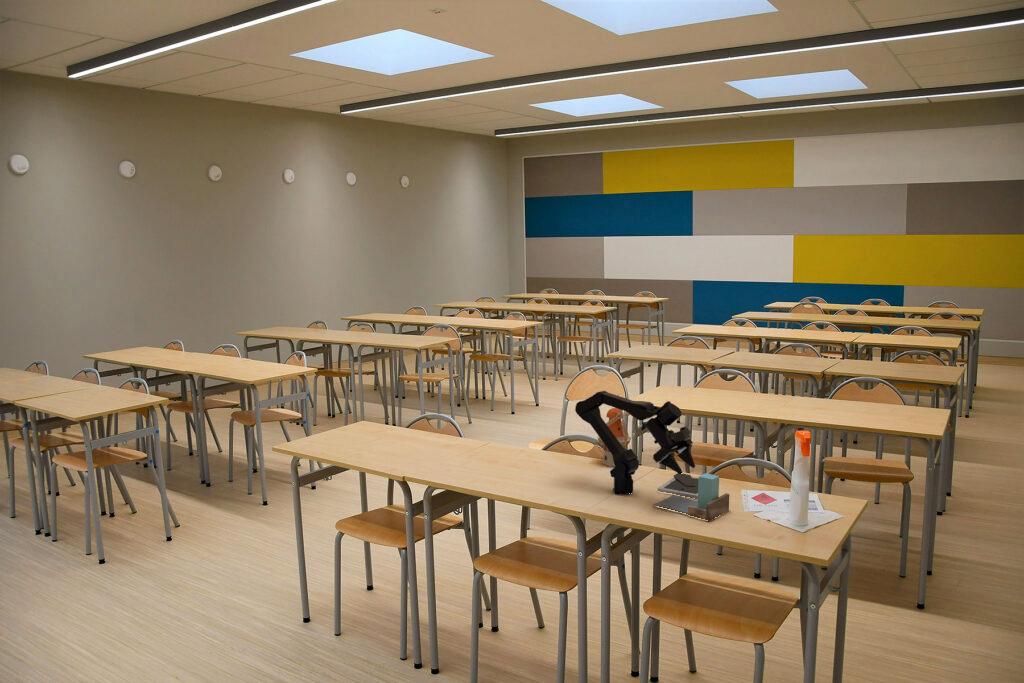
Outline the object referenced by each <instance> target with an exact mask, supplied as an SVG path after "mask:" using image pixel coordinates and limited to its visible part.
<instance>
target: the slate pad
mask: <svg viewBox="0 0 1024 683" xmlns="http://www.w3.org/2000/svg"><path fill="white" fill-rule="evenodd" d="M654 505H655V506H659V507H663V508H667V509H671V510H675V511H678V512H682V513H686V514H688V506H693V507H697V508H698V500H695V499H690V498H684V497H679V496H674V495H669V496H667V497H666V498H664V499H661V500H659V501H658V502H656V503H653V506H654Z"/></svg>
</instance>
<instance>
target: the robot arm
mask: <svg viewBox="0 0 1024 683" xmlns="http://www.w3.org/2000/svg"><path fill="white" fill-rule="evenodd" d="M617 395H618V394H617ZM617 395H616V394H614V393H611V392H608V391H606V390H601V391H597V392H595V393H594V394H593V395H591V396H590V397H588V398H586V399H584V400H580V401H577V402H576V404H575V408H574V410H575V413H576V415H577V416H578V417H579V418H581V420H583V421H584V422H585V423H587V424H589V425H590V426H591V427H592V428H593V430H594V432H595V433H596V434H597V436H598V437H600V439H601V440H602V441H603V443H604V444H605V446H606V447H607V448H608V450H609V451H610V452H611V454H612V456H613V462H614V465H615V467H612V469H610V470H609V473H610V476H611V478H613V487H612V491H613V494H614V493H615V494H614V495H628V494H629V493H630V494H631V493H632V494H633V492H634V479H633V477H632V475H635V473H636V471H637V470H638V469H639V466H640V460H639V459H638V458H639V456H637V455H636V453H635V452H634V450H633V449H632V448H629V449H626V447H625V448H623V447H622V445H621V444H620V442H619V441H618V440H617V438H616V437H615V436H614V434H613V433H612V431H611V430H610V429H609V427H608V426H607V424H606V423H607V422H605V420H604V419H603V418H602V415H601V410H600V407H601V406H603V405H607V406H609V407H611V408H618V409H621V410H623V412H625V413H627V412H628V413H629V414H630V415H629V414H628V415H629V416H631V417H632V418H635V419H636V420H638V421H643V422H641V428H640V429H641V431H642V432H643V431H644V430H645V431H646V430H648V431H649V433H650V434H651V436H652V437H653V438H654V440H653V442H654V444H655V445H656V444H658V445H659V447H660V449H658V450H657V451H656V452H655V453H654V454H653V456H652V459H653V460H654V462H655V464H657V463H659V464H660V465H663V466H664V467H667V468H668V469H670V470H672V471H673V472H675V473H676V474H677V473H679V474H681V473H683V471H682V468H681V467H680V465H679V463H678V462H677V460H676V459H675V453H676V454H677V456H678V458H680V459H681V460H682V461H683V462H684V463H686V464H687V465H688V466H689V467H690V468H691V469H694V468H695V467H696V465H695V464H696V463H695V461H694V459H693V455H692V447H693V444H694V443H693V440H692V439H691V436H690V434H691V430H690V429H689V428H688V427H687V426H686V425H685V426H682V427H680V429H679V431H674V430H673V429H670V430H669V428H668V427H669V426H672V424H673V423H675V422H677V420H678V419H679V418H680V417H682V415H683V414H682V410H681V408H680V407H679V406H677V405H676V404H674V403H671V401H670V400H669V401H666V402H664V403H663V405H662V406H660V407H658V406H655V404H653V402H651V401H644V400H631V399H629V398H626V397H623V396H620V395H619V396H617ZM648 419H649V420H648ZM645 420H647V421H645ZM667 426H668V427H667Z"/></svg>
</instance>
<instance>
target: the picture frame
mask: <svg viewBox="0 0 1024 683" xmlns="http://www.w3.org/2000/svg"><path fill="white" fill-rule="evenodd" d="M698 481H699V477H697V476H692V475H691V474H687V473H683V474H679V473H677V472H676V473H675V474H674V475H673V477H672V478H670V479H669V480H668V481H666V482H665V483H663V484H662V485H660V486H659V487H658V488H657V491H660V492H666V493H672V494H676V495H680V496H685V497H690V498H695V499H698ZM690 498H689V499H690ZM695 499H694V500H695Z"/></svg>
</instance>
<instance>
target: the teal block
mask: <svg viewBox="0 0 1024 683" xmlns="http://www.w3.org/2000/svg"><path fill="white" fill-rule="evenodd" d="M698 478H699V481H698V500H697V501H698V508H701V509H705V510H706V504H707V503H709V502H711V501H712V500H714V499H716V498H718V497H720V496H719V493H720V476H719V475H717V474H716V475H715V474H711V473H707V472H706V473H703V474H701V475H699V476H698Z"/></svg>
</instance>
